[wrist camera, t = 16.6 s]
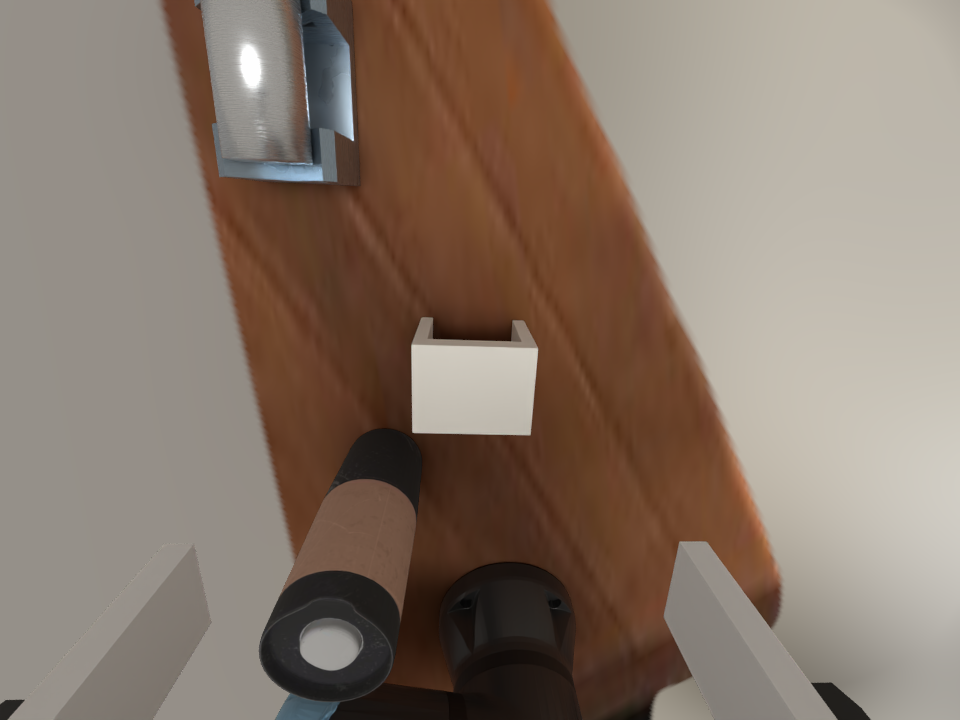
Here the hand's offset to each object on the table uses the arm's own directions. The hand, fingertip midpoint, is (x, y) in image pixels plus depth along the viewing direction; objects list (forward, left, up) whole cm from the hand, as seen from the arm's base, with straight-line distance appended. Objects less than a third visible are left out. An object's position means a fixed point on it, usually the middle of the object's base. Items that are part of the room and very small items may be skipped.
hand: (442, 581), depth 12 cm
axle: (+17, +11, -23) cm, 30 cm away
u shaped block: (-3, -1, -28) cm, 29 cm away
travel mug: (-14, +7, -29) cm, 33 cm away
